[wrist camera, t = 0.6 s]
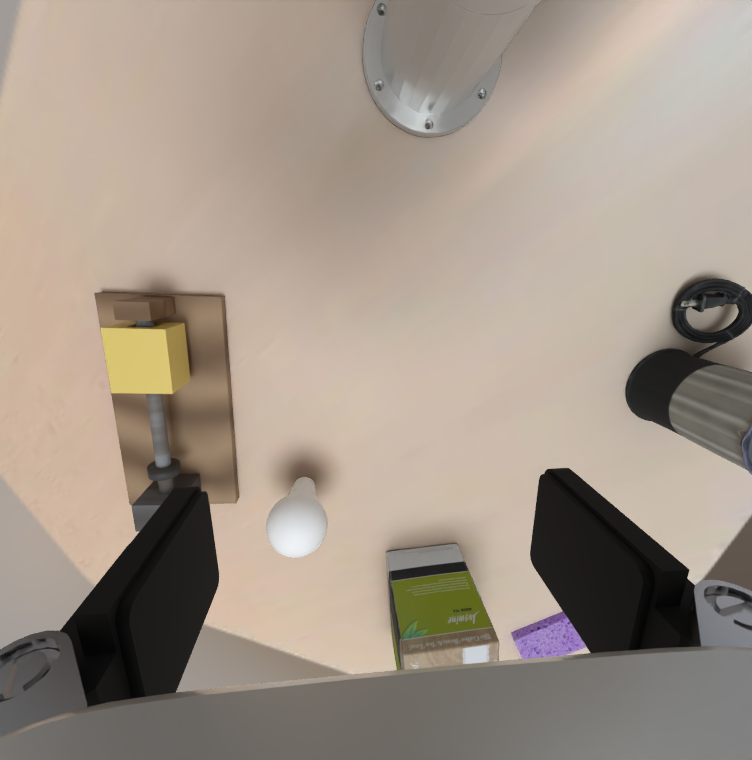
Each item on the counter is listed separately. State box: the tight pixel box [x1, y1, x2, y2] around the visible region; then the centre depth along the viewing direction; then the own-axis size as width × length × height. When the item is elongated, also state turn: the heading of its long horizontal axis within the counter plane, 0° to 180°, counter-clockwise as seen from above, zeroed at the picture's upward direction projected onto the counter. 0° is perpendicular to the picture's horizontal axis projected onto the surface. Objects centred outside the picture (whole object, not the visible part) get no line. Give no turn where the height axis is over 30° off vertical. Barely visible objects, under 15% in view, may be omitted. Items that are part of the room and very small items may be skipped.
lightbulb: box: [266, 477, 328, 558], centre depth 41 cm, size 6×6×11 cm
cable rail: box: [95, 292, 239, 531], centre depth 39 cm, size 24×12×7 cm, turn 178°
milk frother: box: [626, 279, 752, 474], centre depth 38 cm, size 14×16×15 cm
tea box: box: [386, 544, 499, 670], centre depth 45 cm, size 15×10×15 cm, turn 4°
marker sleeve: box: [101, 321, 190, 394], centre depth 36 cm, size 6×5×4 cm
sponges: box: [511, 612, 587, 659], centre depth 56 cm, size 7×13×2 cm, turn 114°
